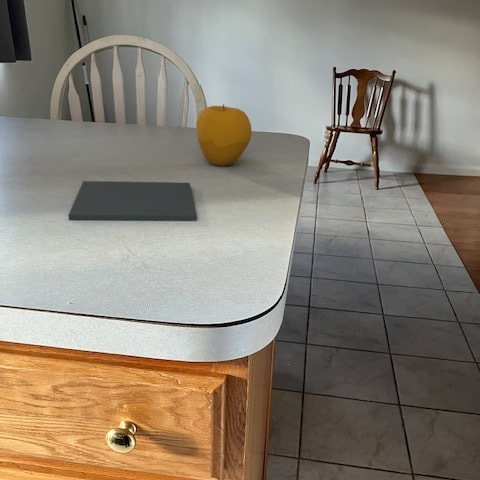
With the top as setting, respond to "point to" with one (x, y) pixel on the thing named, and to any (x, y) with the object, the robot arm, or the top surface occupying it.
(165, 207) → the mat
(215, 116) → the apple
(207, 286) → the top surface
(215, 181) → the top surface
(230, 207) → the top surface
